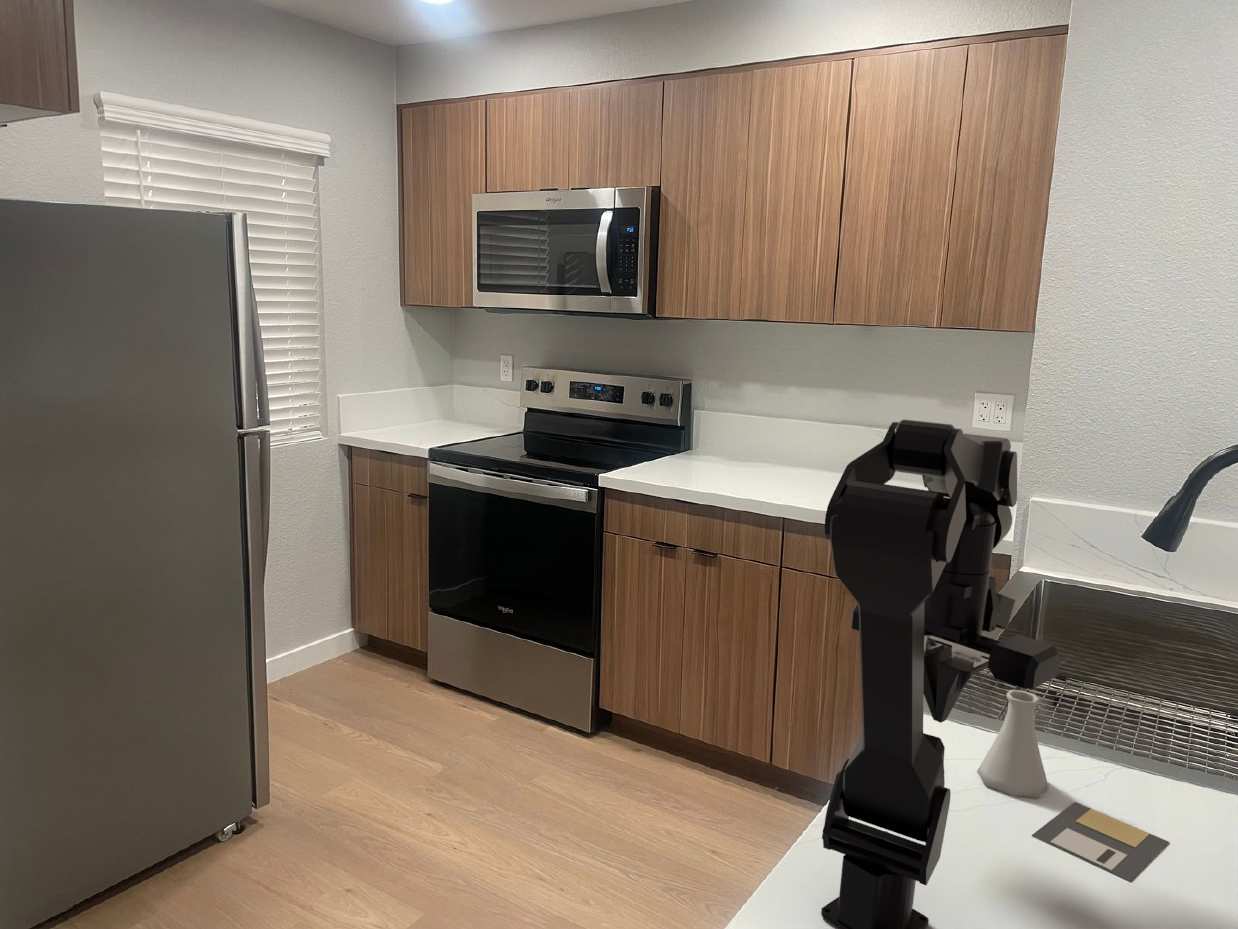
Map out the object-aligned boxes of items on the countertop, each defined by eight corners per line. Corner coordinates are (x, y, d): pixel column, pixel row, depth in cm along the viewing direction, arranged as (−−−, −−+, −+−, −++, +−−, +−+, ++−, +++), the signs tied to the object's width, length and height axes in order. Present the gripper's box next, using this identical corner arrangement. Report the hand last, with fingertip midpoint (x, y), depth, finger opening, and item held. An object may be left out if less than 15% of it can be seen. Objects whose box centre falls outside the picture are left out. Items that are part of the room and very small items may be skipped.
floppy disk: (1130, 881, 82) (1130, 879, 82) (1031, 835, 89) (1032, 834, 89) (1169, 842, 89) (1169, 840, 89) (1074, 802, 95) (1074, 800, 95)
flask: (1048, 806, 95) (1061, 716, 93) (974, 788, 97) (985, 701, 96) (1047, 775, 101) (1059, 690, 99) (978, 759, 104) (988, 677, 102)
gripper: (1095, 577, 84) (1073, 734, 87) (914, 532, 98) (899, 669, 100) (1042, 599, 77) (1019, 769, 79) (854, 547, 90) (840, 694, 93)
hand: (939, 720), depth 88 cm, fingers closed
